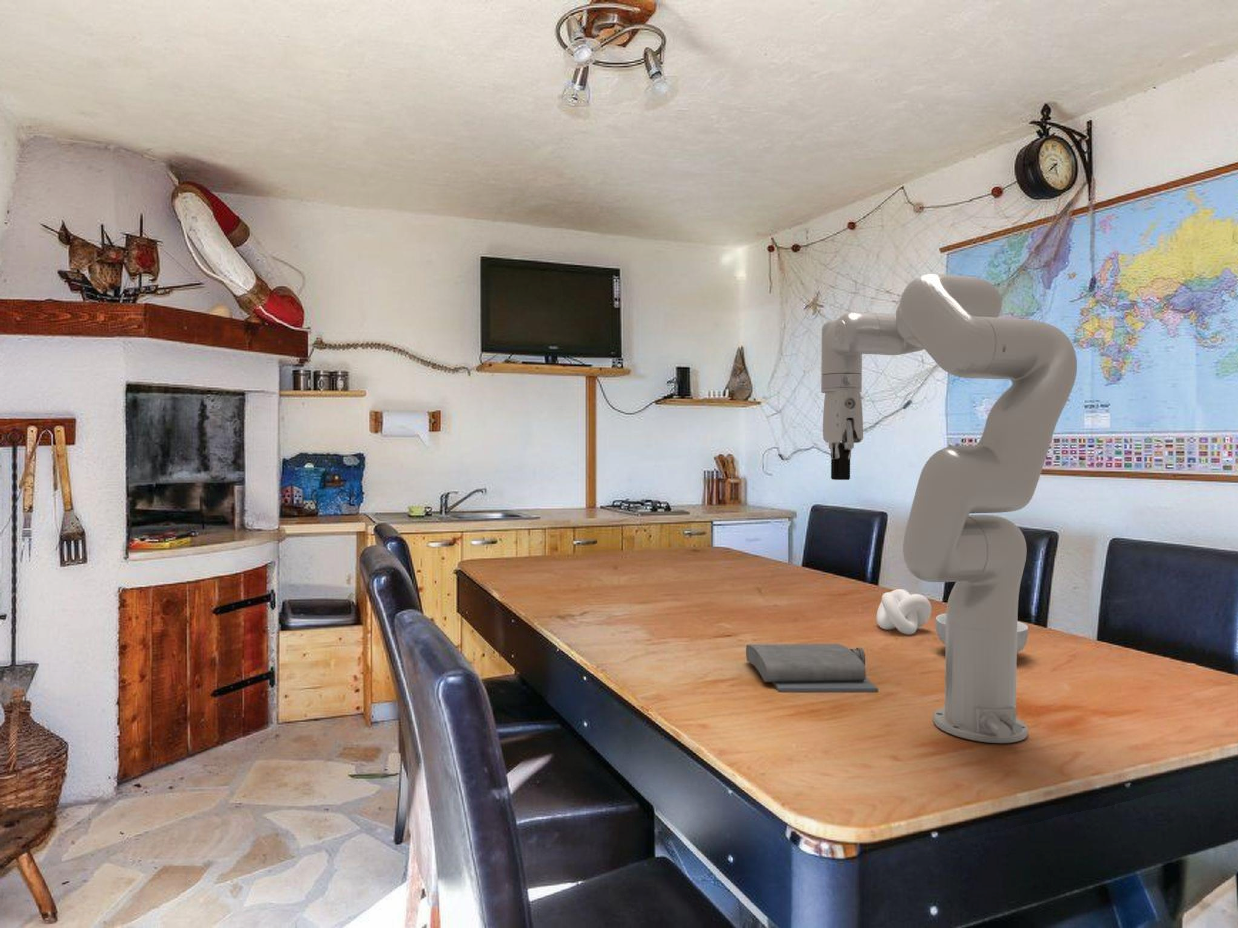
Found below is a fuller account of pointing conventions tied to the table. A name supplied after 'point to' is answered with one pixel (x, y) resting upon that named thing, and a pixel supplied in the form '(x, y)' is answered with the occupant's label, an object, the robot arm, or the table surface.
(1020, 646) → the cereal bowl
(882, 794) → the table surface
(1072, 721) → the table surface
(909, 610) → the white decorative knot
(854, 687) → the mat
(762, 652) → the hip flask
